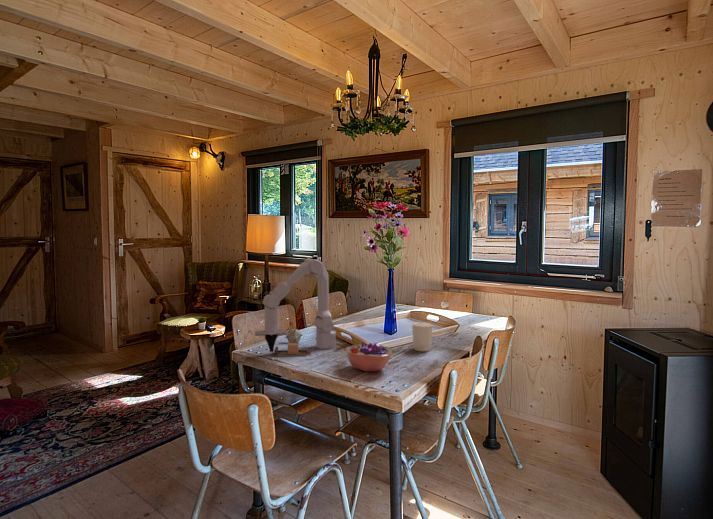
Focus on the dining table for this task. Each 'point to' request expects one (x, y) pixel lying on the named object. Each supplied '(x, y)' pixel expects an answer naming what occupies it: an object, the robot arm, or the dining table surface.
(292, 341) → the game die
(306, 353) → the brown boxy piece
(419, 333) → the candle holder
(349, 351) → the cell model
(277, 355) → the lane rails
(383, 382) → the dining table surface
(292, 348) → the block
